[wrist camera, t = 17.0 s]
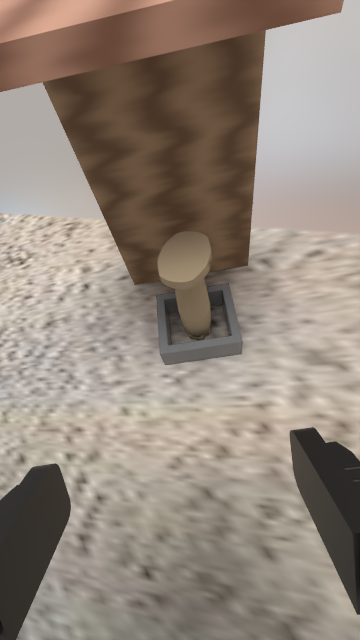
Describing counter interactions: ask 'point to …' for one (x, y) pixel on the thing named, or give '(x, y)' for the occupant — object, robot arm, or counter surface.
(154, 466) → the counter surface
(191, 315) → the tan headed rod
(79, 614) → the counter surface
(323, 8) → the wooden l-shaped bracket
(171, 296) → the socket
